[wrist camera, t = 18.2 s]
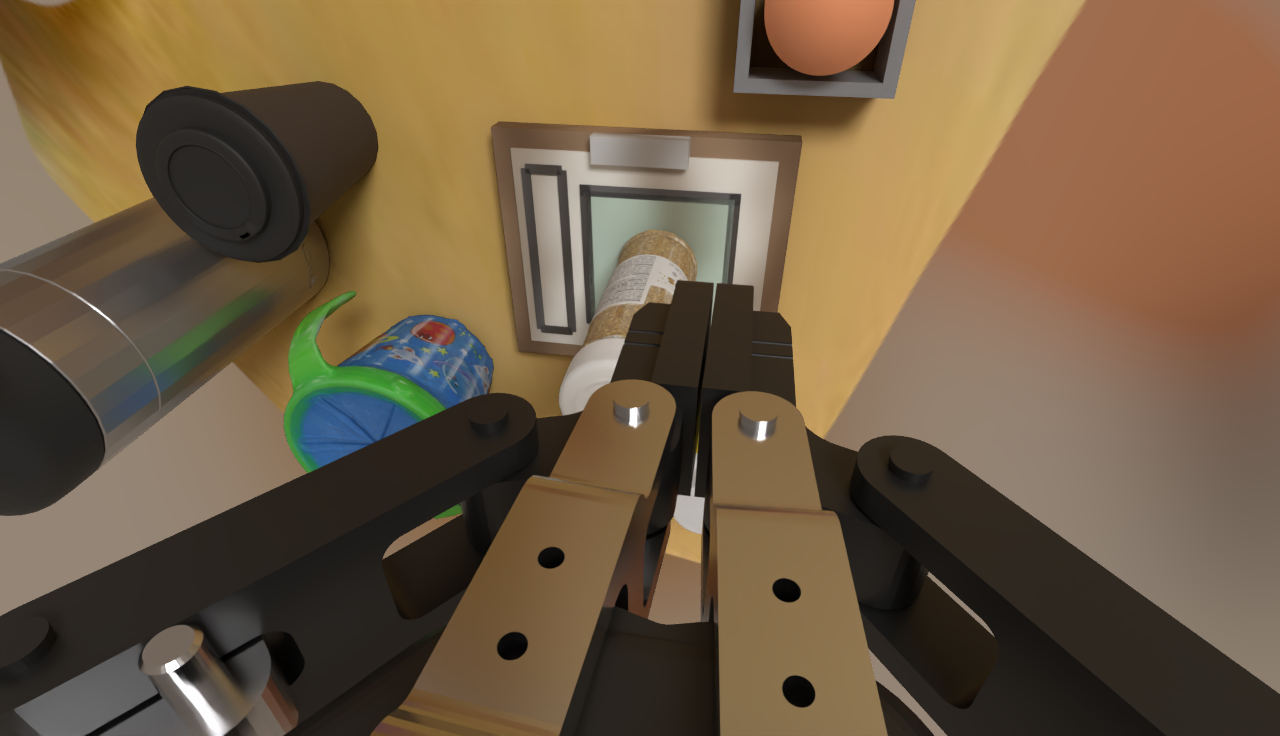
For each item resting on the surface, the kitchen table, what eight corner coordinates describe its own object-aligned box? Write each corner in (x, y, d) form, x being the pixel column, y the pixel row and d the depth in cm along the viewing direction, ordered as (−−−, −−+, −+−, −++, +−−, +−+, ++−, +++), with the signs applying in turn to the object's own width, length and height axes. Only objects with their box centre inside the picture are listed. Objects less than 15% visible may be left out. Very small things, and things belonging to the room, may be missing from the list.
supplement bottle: (666, 411, 43) (647, 500, 37) (722, 380, 41) (713, 469, 34) (707, 456, 45) (697, 549, 38) (763, 429, 43) (763, 523, 36)
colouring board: (524, 341, 42) (514, 357, 40) (498, 121, 34) (485, 131, 32) (768, 364, 40) (768, 382, 38) (801, 135, 32) (802, 146, 30)
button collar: (736, 80, 31) (733, 92, 29) (750, -98, 27) (749, -101, 25) (883, 85, 30) (894, 98, 28) (921, -98, 26) (937, -100, 24)
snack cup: (560, 425, 46) (515, 533, 38) (445, 453, 50) (380, 558, 41) (445, 233, 39) (357, 315, 30) (319, 283, 42) (210, 368, 34)
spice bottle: (707, 290, 36) (684, 447, 25) (633, 307, 37) (581, 463, 27) (684, 216, 34) (648, 353, 23) (606, 237, 35) (537, 376, 24)
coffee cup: (374, 226, 39) (271, 304, 31) (250, 146, 37) (107, 206, 29) (422, 115, 35) (316, 172, 27) (284, 19, 33) (126, 48, 25)
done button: (758, 59, 30) (757, 73, 27) (771, -69, 27) (772, -69, 24) (867, 62, 29) (878, 77, 26) (892, -69, 27) (908, -68, 23)
